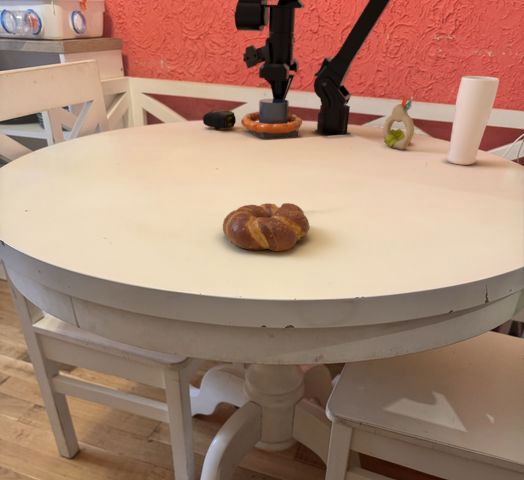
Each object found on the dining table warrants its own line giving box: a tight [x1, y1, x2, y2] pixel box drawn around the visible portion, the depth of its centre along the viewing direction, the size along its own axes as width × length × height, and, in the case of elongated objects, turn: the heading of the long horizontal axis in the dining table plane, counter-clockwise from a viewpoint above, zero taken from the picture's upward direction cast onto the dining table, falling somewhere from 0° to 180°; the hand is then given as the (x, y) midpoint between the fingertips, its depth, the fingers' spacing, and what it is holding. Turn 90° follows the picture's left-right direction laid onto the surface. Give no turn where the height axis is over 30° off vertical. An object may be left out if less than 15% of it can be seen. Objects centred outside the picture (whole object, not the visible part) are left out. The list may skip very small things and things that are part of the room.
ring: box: [240, 111, 303, 134], centre depth 118 cm, size 14×14×2 cm
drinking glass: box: [446, 75, 500, 166], centre depth 96 cm, size 7×7×15 cm
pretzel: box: [222, 202, 311, 252], centre depth 64 cm, size 12×11×4 cm
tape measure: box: [202, 109, 237, 131], centre depth 122 cm, size 7×7×4 cm
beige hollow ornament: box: [382, 90, 415, 151], centre depth 107 cm, size 8×8×12 cm
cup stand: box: [248, 98, 300, 140], centre depth 117 cm, size 9×9×7 cm
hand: (278, 108), depth 121 cm, fingers closed
